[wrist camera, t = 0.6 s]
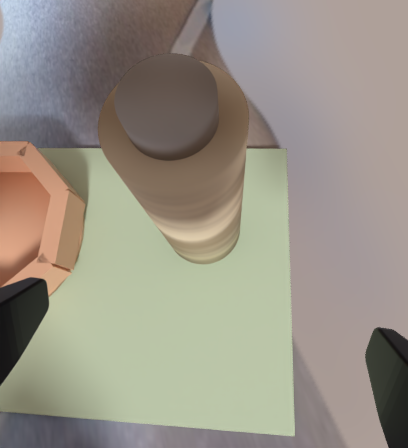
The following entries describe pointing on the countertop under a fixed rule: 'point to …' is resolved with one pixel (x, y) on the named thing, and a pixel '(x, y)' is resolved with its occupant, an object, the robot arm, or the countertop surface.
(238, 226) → the pepper mill
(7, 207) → the octagonal ashtray
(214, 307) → the mat
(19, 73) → the countertop surface
